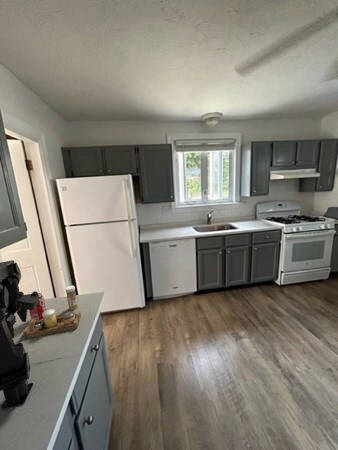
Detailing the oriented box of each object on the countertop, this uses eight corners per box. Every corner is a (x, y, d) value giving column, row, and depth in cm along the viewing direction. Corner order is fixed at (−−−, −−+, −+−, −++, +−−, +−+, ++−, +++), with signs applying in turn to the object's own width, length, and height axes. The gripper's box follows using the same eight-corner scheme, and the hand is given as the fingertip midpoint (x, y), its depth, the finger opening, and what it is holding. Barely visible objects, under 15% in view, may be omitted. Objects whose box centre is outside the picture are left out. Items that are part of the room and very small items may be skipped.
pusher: (42, 332, 91) (41, 325, 90) (31, 334, 90) (30, 327, 89) (48, 323, 97) (46, 316, 96) (37, 325, 96) (36, 318, 95)
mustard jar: (44, 332, 92) (40, 316, 90) (48, 324, 96) (44, 310, 95) (55, 329, 92) (52, 314, 91) (59, 322, 97) (56, 308, 96)
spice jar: (74, 326, 94) (73, 317, 93) (62, 328, 93) (60, 319, 92) (77, 319, 99) (75, 310, 98) (65, 321, 98) (64, 312, 97)
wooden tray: (77, 330, 93) (76, 321, 92) (25, 340, 88) (23, 331, 88) (81, 318, 101) (80, 310, 101) (34, 326, 97) (32, 318, 96)
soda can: (46, 320, 101) (41, 297, 99) (29, 324, 99) (24, 301, 96) (48, 312, 108) (44, 291, 105) (33, 316, 105) (28, 294, 103)
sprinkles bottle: (78, 309, 109) (75, 287, 106) (69, 313, 106) (65, 290, 104) (77, 306, 113) (73, 284, 110) (68, 309, 110) (64, 287, 108)
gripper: (21, 303, 68) (30, 342, 71) (43, 279, 85) (49, 311, 88) (-17, 309, 65) (-6, 349, 68) (14, 283, 83) (21, 316, 86)
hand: (18, 329), depth 78 cm, fingers open, 9 cm apart
